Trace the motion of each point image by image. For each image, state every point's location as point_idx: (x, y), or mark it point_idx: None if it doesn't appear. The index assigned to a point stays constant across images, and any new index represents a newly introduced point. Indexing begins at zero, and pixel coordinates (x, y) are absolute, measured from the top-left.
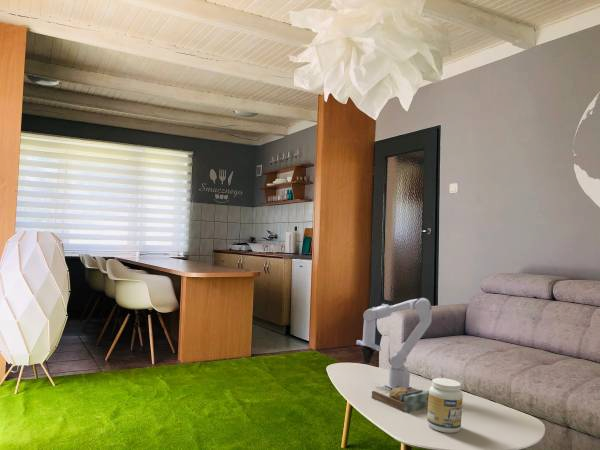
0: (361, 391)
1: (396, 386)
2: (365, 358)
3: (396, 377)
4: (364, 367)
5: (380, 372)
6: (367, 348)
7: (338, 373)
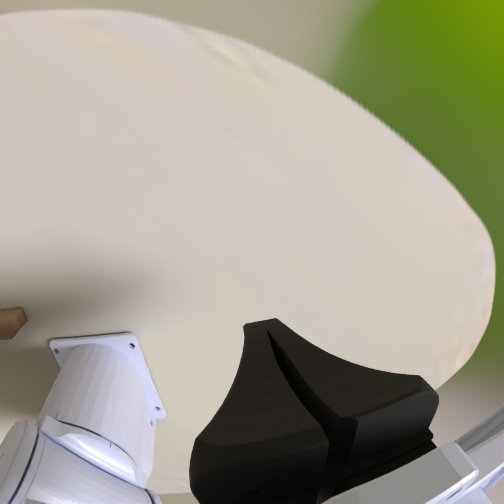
0: (79, 113)
1: (3, 326)
2: (275, 343)
3: (50, 391)
4: None
5: None
6: (284, 486)
7: (431, 204)
